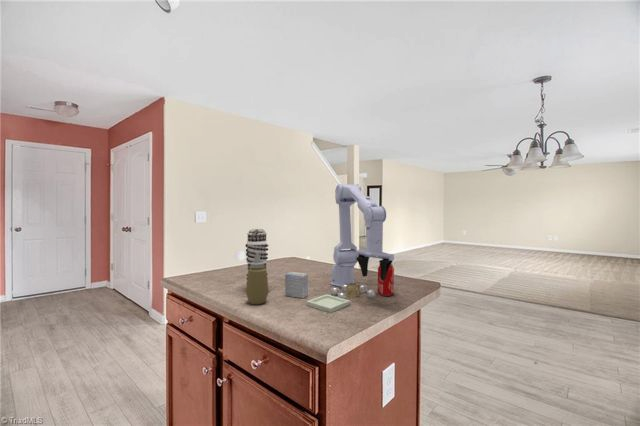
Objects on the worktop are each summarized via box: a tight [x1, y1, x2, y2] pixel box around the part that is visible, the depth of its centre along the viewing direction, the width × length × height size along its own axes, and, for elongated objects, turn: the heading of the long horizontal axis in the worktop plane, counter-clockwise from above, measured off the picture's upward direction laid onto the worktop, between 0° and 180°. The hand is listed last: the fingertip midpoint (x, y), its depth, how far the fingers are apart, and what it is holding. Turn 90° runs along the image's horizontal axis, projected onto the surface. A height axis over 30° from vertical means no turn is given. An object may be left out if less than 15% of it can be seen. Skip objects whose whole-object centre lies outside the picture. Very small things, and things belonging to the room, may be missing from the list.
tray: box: [306, 293, 351, 314], centre depth 110 cm, size 11×11×2 cm
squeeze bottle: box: [245, 253, 270, 305], centre depth 113 cm, size 8×8×18 cm
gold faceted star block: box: [345, 282, 361, 299], centre depth 122 cm, size 4×5×4 cm
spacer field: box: [330, 284, 376, 300], centre depth 122 cm, size 15×17×2 cm
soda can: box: [377, 263, 395, 297], centre depth 123 cm, size 6×6×12 cm
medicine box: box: [284, 271, 309, 299], centre depth 121 cm, size 8×4×9 cm, turn 65°
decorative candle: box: [245, 228, 269, 288], centre depth 127 cm, size 9×9×25 cm
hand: (373, 277), depth 112 cm, fingers open, 7 cm apart
